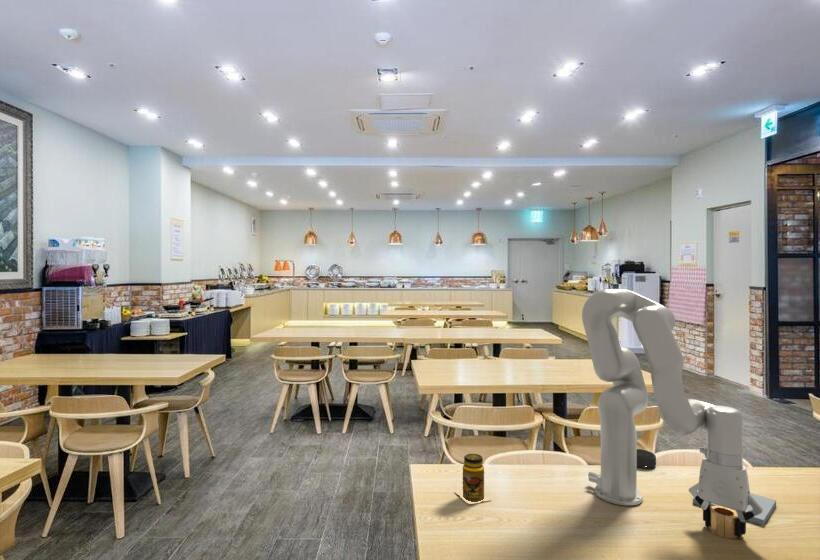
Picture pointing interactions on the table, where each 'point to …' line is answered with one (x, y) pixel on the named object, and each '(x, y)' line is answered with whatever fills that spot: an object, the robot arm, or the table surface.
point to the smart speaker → (645, 459)
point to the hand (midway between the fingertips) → (723, 529)
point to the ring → (723, 522)
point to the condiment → (473, 478)
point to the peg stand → (763, 502)
